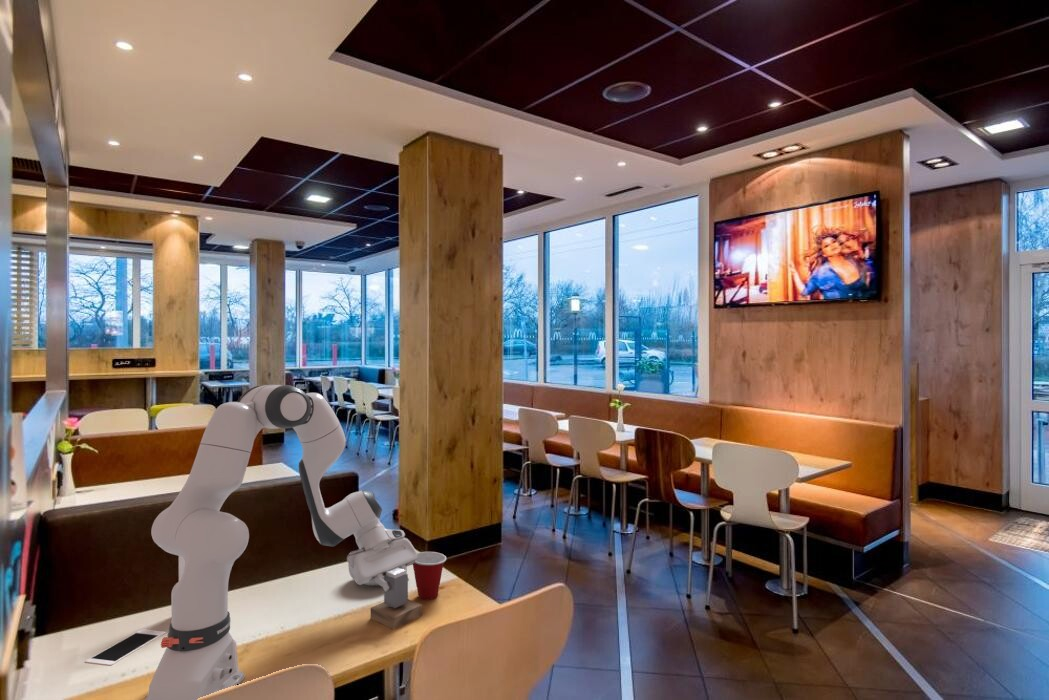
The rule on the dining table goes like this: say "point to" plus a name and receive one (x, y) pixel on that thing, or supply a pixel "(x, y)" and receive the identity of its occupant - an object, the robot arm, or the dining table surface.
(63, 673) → the dining table surface
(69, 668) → the dining table surface
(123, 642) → the cell phone
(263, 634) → the dining table surface
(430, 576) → the plastic cup
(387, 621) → the base block
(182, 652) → the robot arm
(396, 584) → the salt shaker
